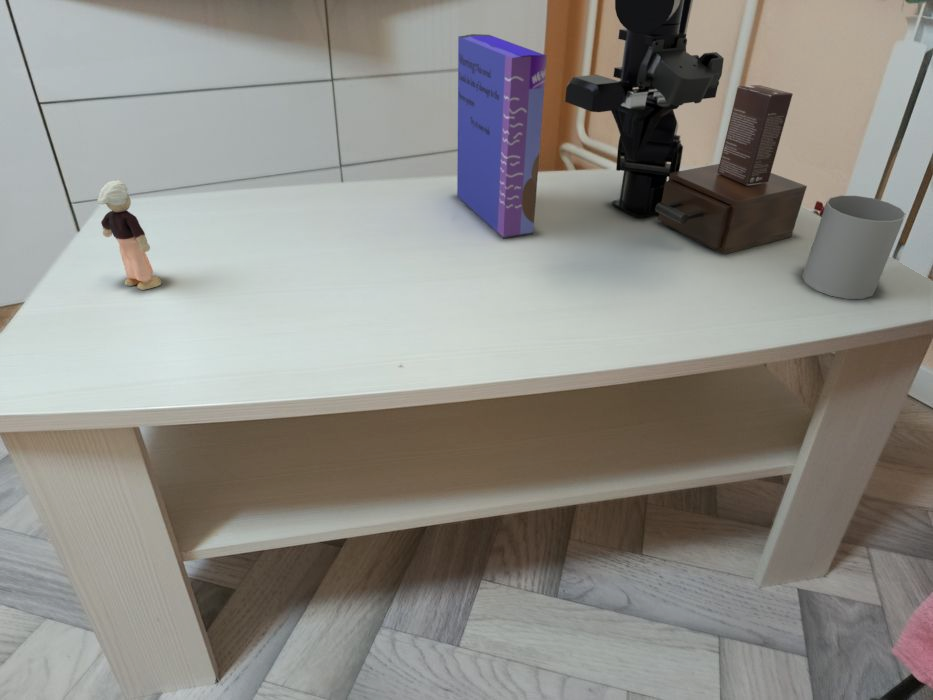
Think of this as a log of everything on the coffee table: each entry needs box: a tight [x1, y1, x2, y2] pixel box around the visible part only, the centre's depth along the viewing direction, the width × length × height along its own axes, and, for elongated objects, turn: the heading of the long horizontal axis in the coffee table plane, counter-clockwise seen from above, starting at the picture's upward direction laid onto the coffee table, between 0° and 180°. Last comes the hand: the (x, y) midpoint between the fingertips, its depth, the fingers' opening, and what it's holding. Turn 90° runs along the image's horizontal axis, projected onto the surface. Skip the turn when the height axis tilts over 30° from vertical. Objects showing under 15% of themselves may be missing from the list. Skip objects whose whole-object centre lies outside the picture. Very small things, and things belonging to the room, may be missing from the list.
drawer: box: [655, 180, 731, 248], centre depth 94 cm, size 17×11×6 cm
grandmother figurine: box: [97, 179, 162, 291], centre depth 78 cm, size 8×4×13 cm, turn 71°
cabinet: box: [660, 163, 808, 255], centre depth 96 cm, size 14×13×8 cm
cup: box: [801, 195, 906, 300], centre depth 81 cm, size 8×8×10 cm
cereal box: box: [456, 33, 547, 239], centre depth 95 cm, size 17×5×24 cm, turn 23°
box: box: [717, 84, 794, 186], centre depth 91 cm, size 6×4×12 cm
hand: (632, 160), depth 83 cm, fingers closed
